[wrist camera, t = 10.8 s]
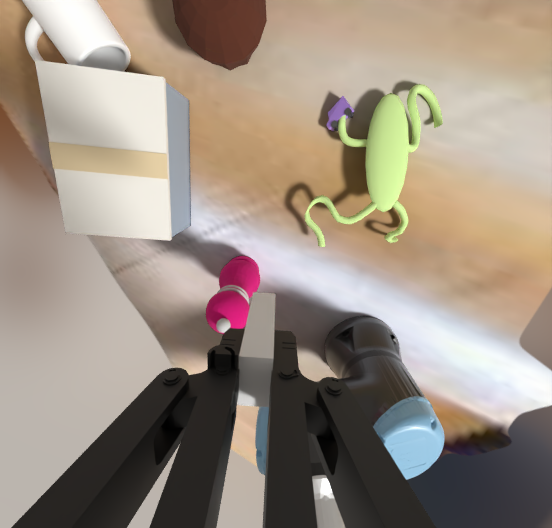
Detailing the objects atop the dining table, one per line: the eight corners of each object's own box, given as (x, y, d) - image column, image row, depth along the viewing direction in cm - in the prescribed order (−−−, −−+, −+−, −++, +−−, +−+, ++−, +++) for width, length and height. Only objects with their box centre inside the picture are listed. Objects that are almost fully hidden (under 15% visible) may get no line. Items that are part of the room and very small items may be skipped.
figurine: (296, 236, 49) (298, 245, 44) (332, 69, 40) (340, 54, 35) (391, 254, 50) (404, 264, 45) (447, 94, 41) (471, 83, 36)
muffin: (175, 42, 39) (142, 1, 30) (214, -38, 36) (192, -111, 27) (241, 97, 41) (230, 75, 32) (284, 26, 38) (285, -21, 29)
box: (190, 225, 48) (171, 237, 40) (113, 217, 48) (78, 228, 39) (189, 100, 41) (166, 82, 33) (99, 90, 41) (52, 69, 33)
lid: (171, 239, 40) (169, 240, 39) (69, 231, 38) (64, 233, 37) (165, 79, 33) (163, 76, 32) (39, 62, 31) (33, 59, 30)
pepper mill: (253, 293, 53) (239, 361, 34) (219, 279, 52) (185, 342, 33) (267, 261, 50) (260, 316, 32) (231, 247, 49) (203, 294, 31)
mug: (93, -14, 37) (46, -61, 29) (141, 58, 40) (109, 32, 32) (35, 41, 39) (-23, 10, 32) (84, 106, 42) (41, 92, 34)
